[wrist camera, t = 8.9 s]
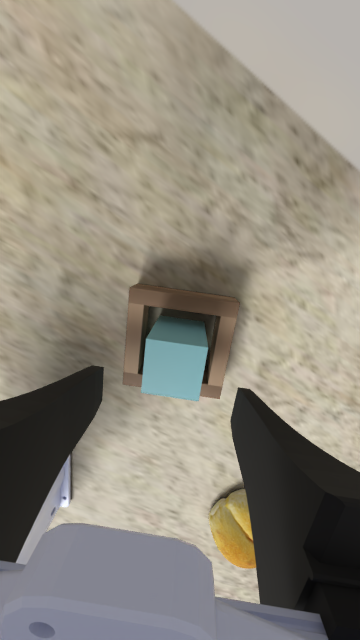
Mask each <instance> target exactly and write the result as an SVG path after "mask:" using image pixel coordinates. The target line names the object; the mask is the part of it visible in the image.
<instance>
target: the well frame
mask: <svg viewBox="0 0 360 640" xmlns="http://www.w3.org/2000/svg"><path fill="white" fill-rule="evenodd" d="M239 305H240V303H239V302H238V301H237V300H236V299H235V298H234V297H227V296H220V295H213V294H206V293H199V292H192V291H185V290H178V289H171V288H164V287H157V286H150V285H143V284H136V285H134V286H132V287H130V289H129V303H128V317H127V331H126V345H125V359H124V372H123V384H124V385H130V386H137V387H142V377H143V367H144V354H145V344H146V334H147V324H148V313H149V306H154V307H161V308H168V309H175V310H182V311H189V312H196V313H203V314H210V315H216V321H215V326H214V332H213V337H212V343H211V348H210V353H209V359H208V364H207V370H204V374H203V379H202V385H201V391H200V396H203V397H209V398H216V399H220V395H221V390H222V385H223V381H224V376H225V371H226V366H227V362H228V357H229V352H230V348H231V343H232V338H233V333H234V329H235V324H236V319H237V314H238V310H239Z"/></svg>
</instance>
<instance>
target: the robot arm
mask: <svg viewBox="0 0 360 640" xmlns="http://www.w3.org/2000/svg"><path fill="white" fill-rule="evenodd" d="M103 370H104V367H99V366H90V367H87V368H85V369H83V370H81V371H79V372H76V373H74V374H72V375H70V376H68V377H66V378H64V379H61V380H59V381H57V382H54V383H52V384H50V385H47V386H45V387H42V388H40V389H37V390H35V391H32V392H29V393H26V394H23V395H20V396H17V397H14V398H10V399H6V400H3V401H0V640H360V472H358V471H356V470H355V469H353V468H351V467H349V466H347V465H346V464H344V463H342V462H341V461H339V460H337V459H336V458H334V457H333V456H331V455H329V454H328V453H326V452H325V451H323V450H322V449H320V448H319V447H317V446H316V445H314V444H313V443H311V442H310V441H309V440H307V439H306V438H305V437H303V436H302V435H301V434H299V433H298V432H297V431H295V430H294V429H293V428H292V427H291V426H289V425H288V424H287V423H286V422H285V421H283V420H282V419H281V418H280V417H279V416H278V415H277V414H276V413H275V412H273V411H272V410H271V409H270V408H269V407H268V406H267V405H266V404H265V403H264V402H263V401H262V400H261V399H260V398H259V397H258V396H257V395H256V394H255V393H254V392H253V391H251V390H250V389H245V388H239V387H238V390H237V395H236V399H235V403H234V408H233V412H232V416H231V429H232V437H233V442H234V446H235V450H236V454H237V458H238V462H239V466H240V470H241V474H242V478H243V482H244V486H245V491H246V496H247V503H248V509H249V516H250V523H251V530H252V537H253V544H254V552H255V561H256V569H257V578H258V587H259V597H260V604H256V603H250V602H244V601H238V600H233V599H227V598H221V597H215V593H214V577H213V570H212V562H211V561H210V560H209V559H208V558H207V557H206V556H205V555H204V554H203V553H202V552H201V551H200V550H199V549H198V548H197V547H196V546H195V545H193V544H190V543H187V542H185V541H182V540H179V539H176V538H170V537H164V536H158V535H152V534H146V533H140V532H134V531H128V530H121V529H115V528H109V527H103V526H97V525H91V524H85V523H67V524H61V525H58V526H57V527H55V528H53V529H51V530H49V531H48V532H46V531H47V529H48V527H49V526H50V524H51V522H52V520H53V518H54V516H55V514H56V512H57V511H58V509H59V507H68V506H69V504H70V454H71V452H72V451H73V449H74V448H75V446H76V444H77V443H78V441H79V440H80V438H81V437H82V435H83V434H84V432H85V431H86V429H87V428H88V426H89V424H90V423H91V421H92V420H93V418H94V416H95V414H96V412H97V410H98V408H99V406H100V404H101V402H102V392H103Z"/></svg>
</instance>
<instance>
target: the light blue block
mask: <svg viewBox="0 0 360 640" xmlns="http://www.w3.org/2000/svg"><path fill="white" fill-rule="evenodd" d="M207 351H208V343H207V337H206V331H205V325H204V322H202V321H195V320H188V319H181V318H174V317H167V316H159V318H158V319H157V321H156V323H155V324H154V326H153V328H152V330H151V331H150V333H149V335H148V336H147V338H146V346H145V356H144V367H143V377H142V388H141V393H146V394H153V395H160V396H166V397H173V398H180V399H186V400H193V401H199V396H200V391H201V385H202V379H203V374H204V368H205V363H206V357H207Z"/></svg>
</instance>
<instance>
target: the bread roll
mask: <svg viewBox="0 0 360 640" xmlns="http://www.w3.org/2000/svg"><path fill="white" fill-rule="evenodd" d="M208 519H209V525H210V527H211V532H212V535H213V538H214V540H215V543H216V545H217V548H218V550H220V551H221V553H222V554H223V556H224V557H225V558H226V559H227V560H228V561H230V562H231V563H232V564H234V565H236V566H238V567H241V568H256V561H255V552H254V544H253V537H252V530H251V523H250V516H249V509H248V503H247V496H246V491H245V489H240V490H237V491H234V492H232V493H231V494H230V495H229V496H228V497H227V498H222V499H220V500H219V501H218V502H217V503H216V504H215V505H214V506H213V507H212V509H211V511H210V513H209V516H208Z"/></svg>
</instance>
